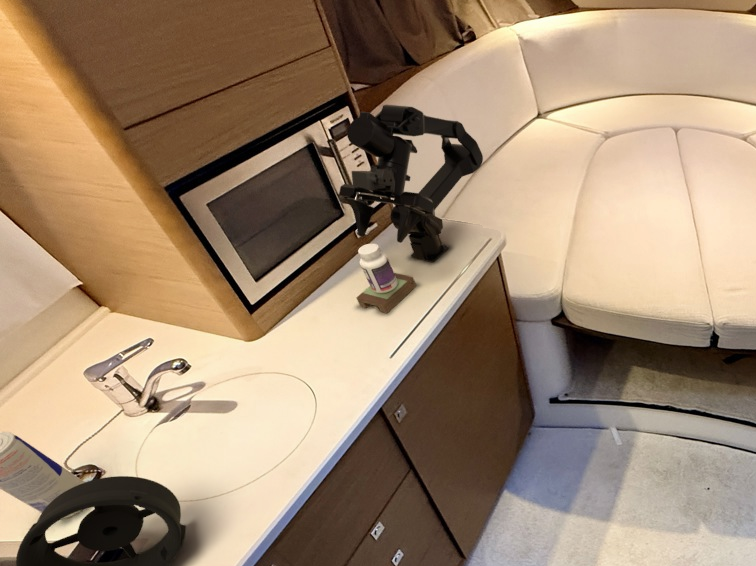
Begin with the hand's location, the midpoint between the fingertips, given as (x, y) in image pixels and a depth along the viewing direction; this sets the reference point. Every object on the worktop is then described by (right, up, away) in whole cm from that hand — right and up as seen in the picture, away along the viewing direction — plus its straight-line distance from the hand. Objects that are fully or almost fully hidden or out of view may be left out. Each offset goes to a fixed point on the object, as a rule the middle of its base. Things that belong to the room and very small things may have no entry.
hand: (380, 239), depth 108 cm
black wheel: (-19, -45, -36) cm, 60 cm away
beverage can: (-32, -47, -29) cm, 63 cm away
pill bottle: (-1, -10, +4) cm, 10 cm away
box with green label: (-1, -11, +6) cm, 13 cm away
